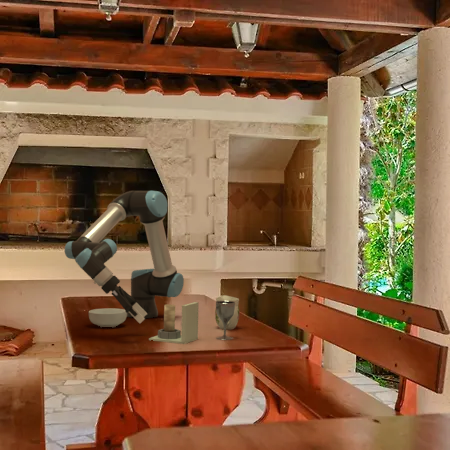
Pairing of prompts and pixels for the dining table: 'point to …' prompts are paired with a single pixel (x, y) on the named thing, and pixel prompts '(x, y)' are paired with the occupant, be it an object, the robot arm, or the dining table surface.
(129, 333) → the dining table surface
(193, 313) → the bracket
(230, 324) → the pitcher
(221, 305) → the wine glass
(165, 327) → the beige mottled cylinder
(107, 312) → the cereal bowl
